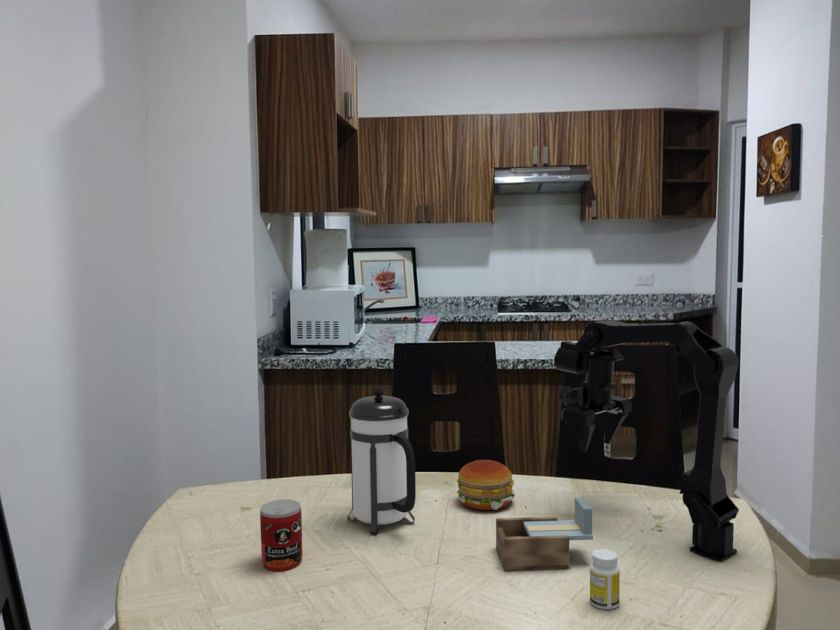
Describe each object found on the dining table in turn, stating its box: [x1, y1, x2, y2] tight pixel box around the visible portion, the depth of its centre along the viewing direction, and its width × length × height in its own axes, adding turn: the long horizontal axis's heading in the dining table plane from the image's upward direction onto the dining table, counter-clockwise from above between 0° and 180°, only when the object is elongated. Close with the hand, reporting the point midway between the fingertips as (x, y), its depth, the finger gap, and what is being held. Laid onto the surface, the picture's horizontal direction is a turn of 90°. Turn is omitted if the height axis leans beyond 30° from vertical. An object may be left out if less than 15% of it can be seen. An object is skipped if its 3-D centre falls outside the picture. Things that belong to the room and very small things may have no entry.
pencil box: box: [495, 516, 570, 572], centre depth 131 cm, size 12×10×6 cm
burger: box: [456, 459, 516, 511], centre depth 160 cm, size 14×14×10 cm
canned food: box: [259, 498, 304, 572], centre depth 130 cm, size 8×8×11 cm
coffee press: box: [346, 386, 417, 536], centre depth 147 cm, size 17×16×30 cm
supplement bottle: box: [589, 548, 621, 610], centre depth 114 cm, size 5×5×8 cm
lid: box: [523, 497, 594, 541], centre depth 130 cm, size 12×7×6 cm, turn 93°
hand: (595, 447), depth 151 cm, fingers open, 9 cm apart
